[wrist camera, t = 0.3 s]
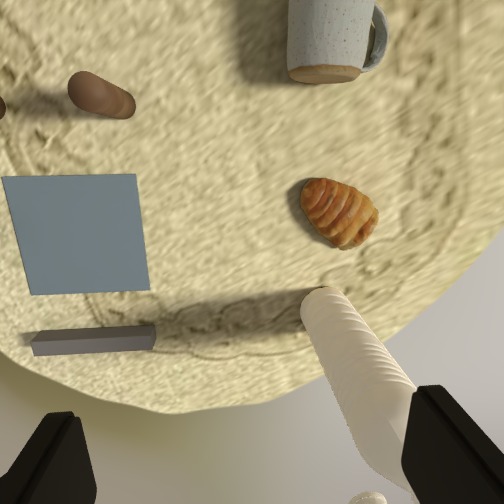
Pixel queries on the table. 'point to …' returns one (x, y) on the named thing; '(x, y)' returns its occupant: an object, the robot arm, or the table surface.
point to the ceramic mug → (333, 39)
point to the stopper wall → (94, 340)
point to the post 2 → (100, 96)
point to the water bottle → (361, 384)
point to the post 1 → (2, 108)
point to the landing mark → (79, 232)
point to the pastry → (339, 212)
